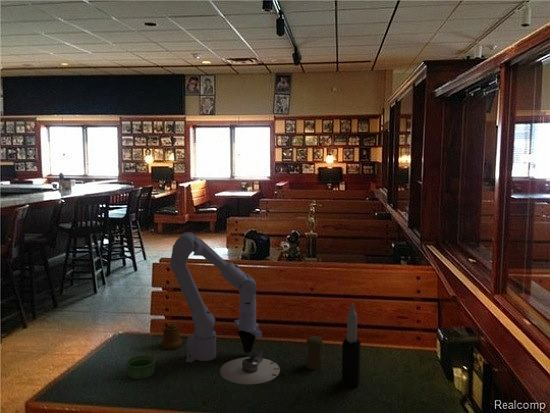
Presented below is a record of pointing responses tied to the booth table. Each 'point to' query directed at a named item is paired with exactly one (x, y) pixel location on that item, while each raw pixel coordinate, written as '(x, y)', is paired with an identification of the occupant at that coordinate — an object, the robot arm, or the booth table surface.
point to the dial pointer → (252, 362)
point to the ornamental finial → (171, 337)
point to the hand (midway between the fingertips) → (247, 351)
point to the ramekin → (141, 366)
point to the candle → (351, 352)
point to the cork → (314, 354)
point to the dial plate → (237, 375)
